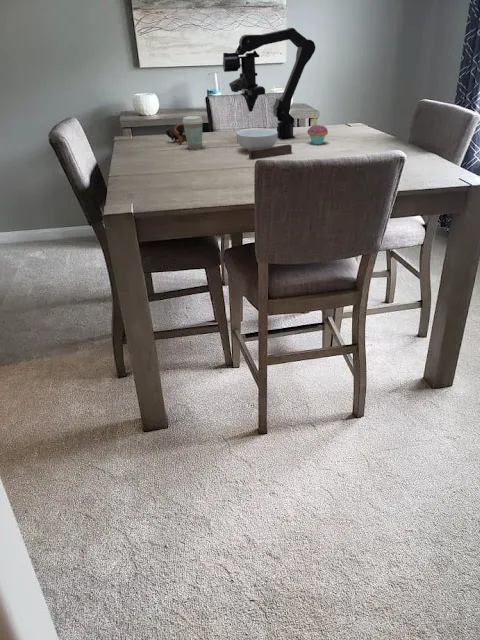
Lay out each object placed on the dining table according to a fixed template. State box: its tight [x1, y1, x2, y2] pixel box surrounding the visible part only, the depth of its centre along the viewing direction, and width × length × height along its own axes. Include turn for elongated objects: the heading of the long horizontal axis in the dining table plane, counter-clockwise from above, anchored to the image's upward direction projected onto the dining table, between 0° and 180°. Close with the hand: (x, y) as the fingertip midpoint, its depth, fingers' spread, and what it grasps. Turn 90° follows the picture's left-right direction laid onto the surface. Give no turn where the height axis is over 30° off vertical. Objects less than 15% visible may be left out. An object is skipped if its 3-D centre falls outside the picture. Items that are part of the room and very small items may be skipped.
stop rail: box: [248, 144, 293, 160], centre depth 195 cm, size 18×2×3 cm, turn 116°
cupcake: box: [307, 112, 329, 145], centre depth 208 cm, size 9×8×12 cm
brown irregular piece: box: [165, 123, 187, 145], centre depth 220 cm, size 12×10×8 cm
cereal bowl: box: [236, 127, 278, 152], centre depth 203 cm, size 17×17×7 cm
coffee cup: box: [182, 115, 204, 150], centre depth 208 cm, size 8×8×12 cm
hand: (250, 111), depth 214 cm, fingers closed
